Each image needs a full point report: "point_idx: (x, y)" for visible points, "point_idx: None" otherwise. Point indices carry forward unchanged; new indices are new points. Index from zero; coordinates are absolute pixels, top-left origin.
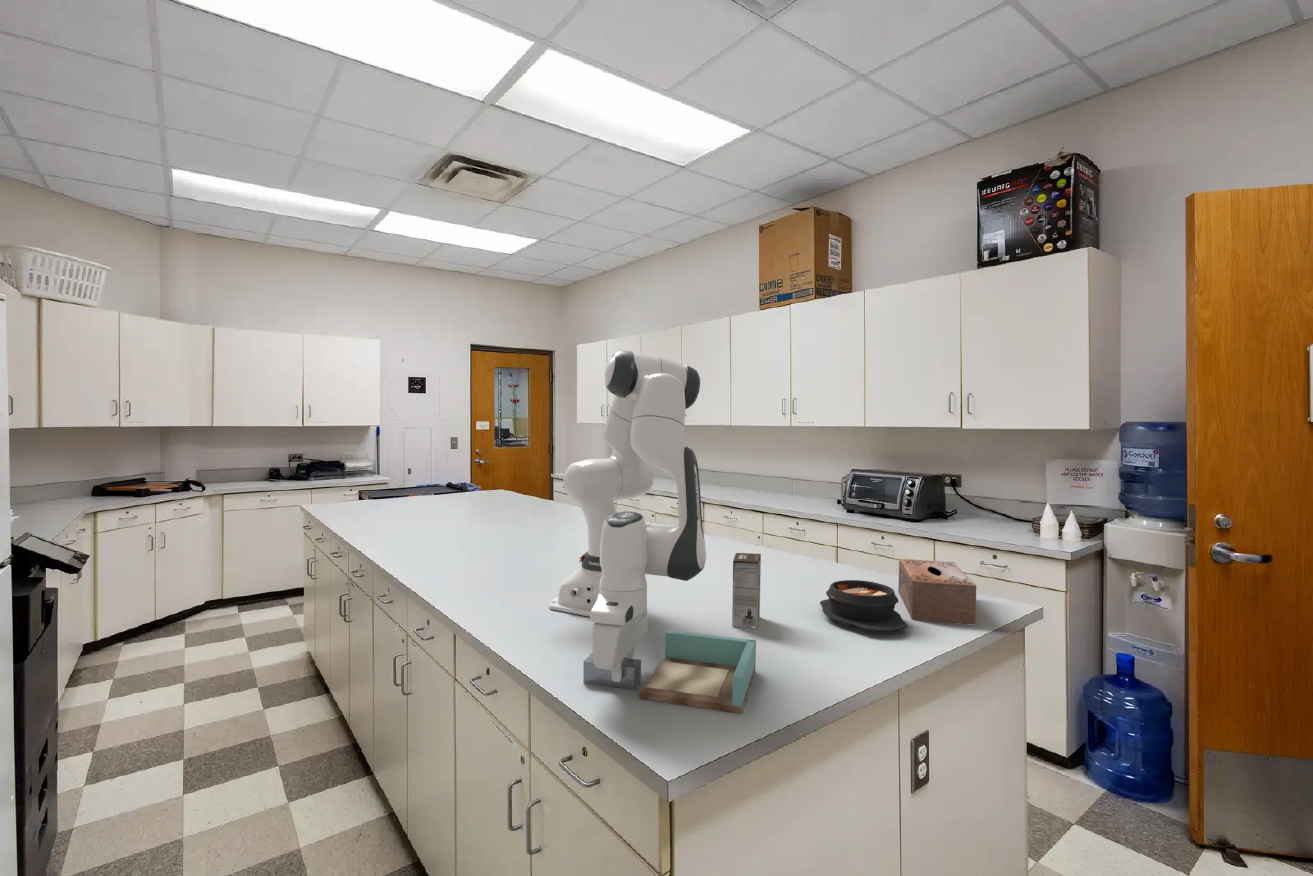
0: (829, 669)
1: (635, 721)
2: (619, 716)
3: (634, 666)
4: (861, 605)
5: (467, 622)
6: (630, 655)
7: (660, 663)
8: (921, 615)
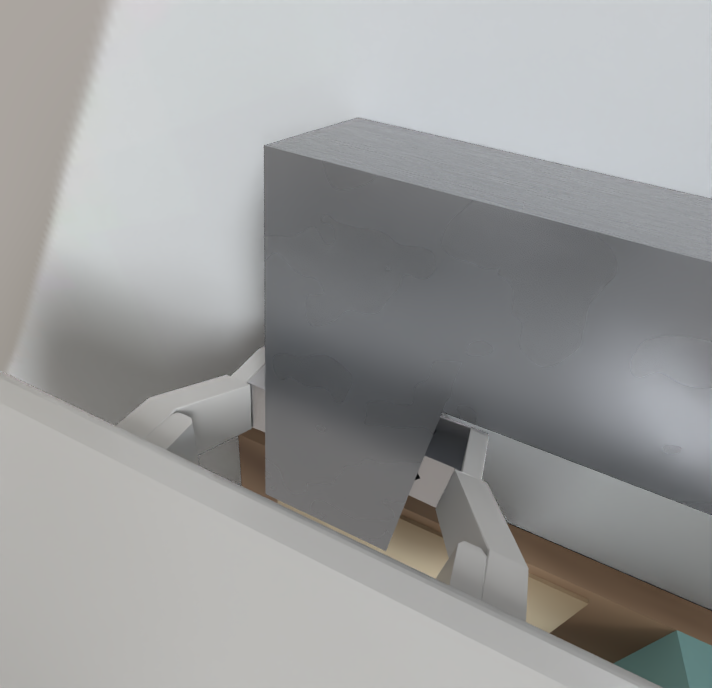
0: None
1: (121, 381)
2: (120, 339)
3: (284, 499)
4: None
5: None
6: (450, 527)
7: (565, 582)
8: None
